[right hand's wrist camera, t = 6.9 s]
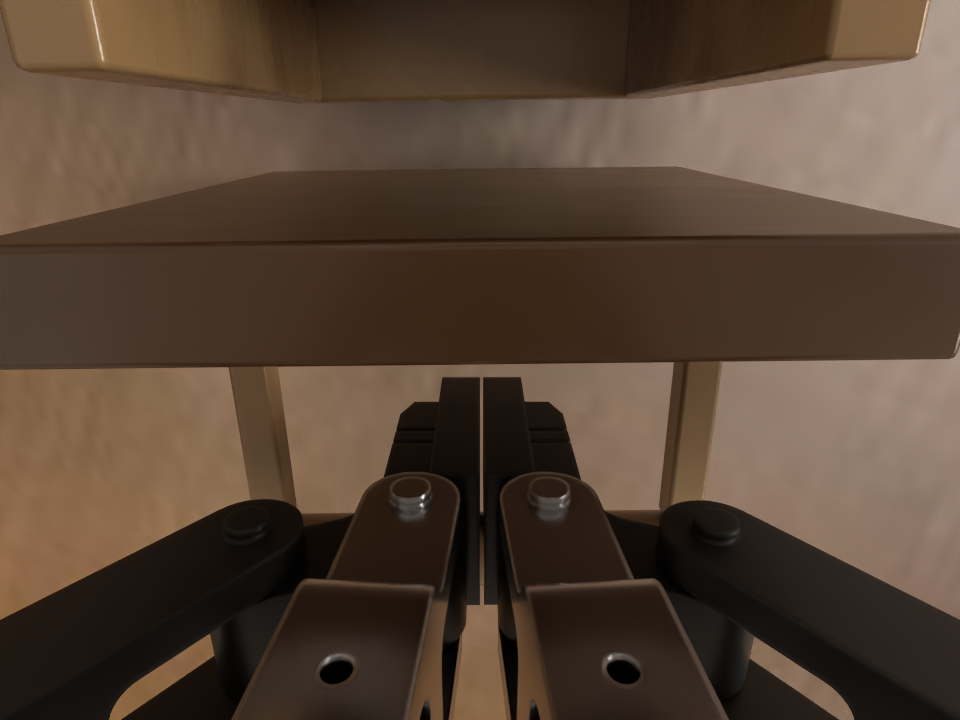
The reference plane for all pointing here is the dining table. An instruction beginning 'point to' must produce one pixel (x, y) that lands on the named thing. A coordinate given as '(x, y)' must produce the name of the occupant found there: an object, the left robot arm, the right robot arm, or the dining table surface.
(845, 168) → the dining table surface
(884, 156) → the dining table surface
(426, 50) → the drawer
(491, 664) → the dining table surface
